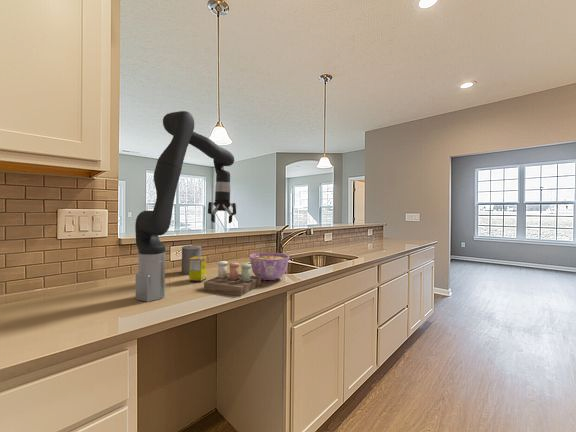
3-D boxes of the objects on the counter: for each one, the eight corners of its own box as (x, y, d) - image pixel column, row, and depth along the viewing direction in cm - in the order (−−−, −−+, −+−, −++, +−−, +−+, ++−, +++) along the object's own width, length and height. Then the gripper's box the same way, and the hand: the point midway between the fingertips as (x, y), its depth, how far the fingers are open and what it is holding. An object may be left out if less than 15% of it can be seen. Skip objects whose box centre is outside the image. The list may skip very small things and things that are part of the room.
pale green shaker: (247, 282, 116) (248, 266, 116) (238, 281, 117) (239, 265, 117) (252, 280, 120) (253, 264, 120) (243, 278, 122) (244, 263, 121)
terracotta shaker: (235, 280, 118) (236, 264, 118) (226, 279, 119) (227, 263, 119) (240, 278, 122) (241, 262, 122) (232, 277, 124) (232, 262, 123)
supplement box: (206, 279, 133) (206, 256, 132) (201, 282, 127) (201, 259, 126) (194, 278, 133) (194, 256, 133) (188, 281, 127) (189, 258, 127)
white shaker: (223, 279, 120) (224, 263, 120) (215, 278, 122) (215, 262, 121) (229, 276, 124) (229, 261, 124) (221, 275, 126) (221, 260, 125)
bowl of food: (270, 287, 123) (271, 261, 122) (240, 278, 135) (240, 255, 135) (296, 278, 139) (297, 255, 138) (267, 271, 151) (267, 251, 150)
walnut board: (241, 296, 109) (241, 287, 109) (203, 290, 116) (204, 281, 115) (261, 284, 126) (261, 277, 126) (227, 279, 132) (227, 272, 132)
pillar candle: (180, 270, 147) (181, 243, 147) (199, 269, 151) (200, 242, 151) (182, 275, 139) (182, 246, 138) (202, 273, 143) (202, 245, 142)
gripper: (206, 190, 137) (205, 222, 137) (234, 191, 136) (233, 223, 137) (211, 191, 145) (210, 221, 145) (238, 192, 144) (237, 223, 144)
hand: (221, 222), depth 141 cm, fingers open, 8 cm apart
